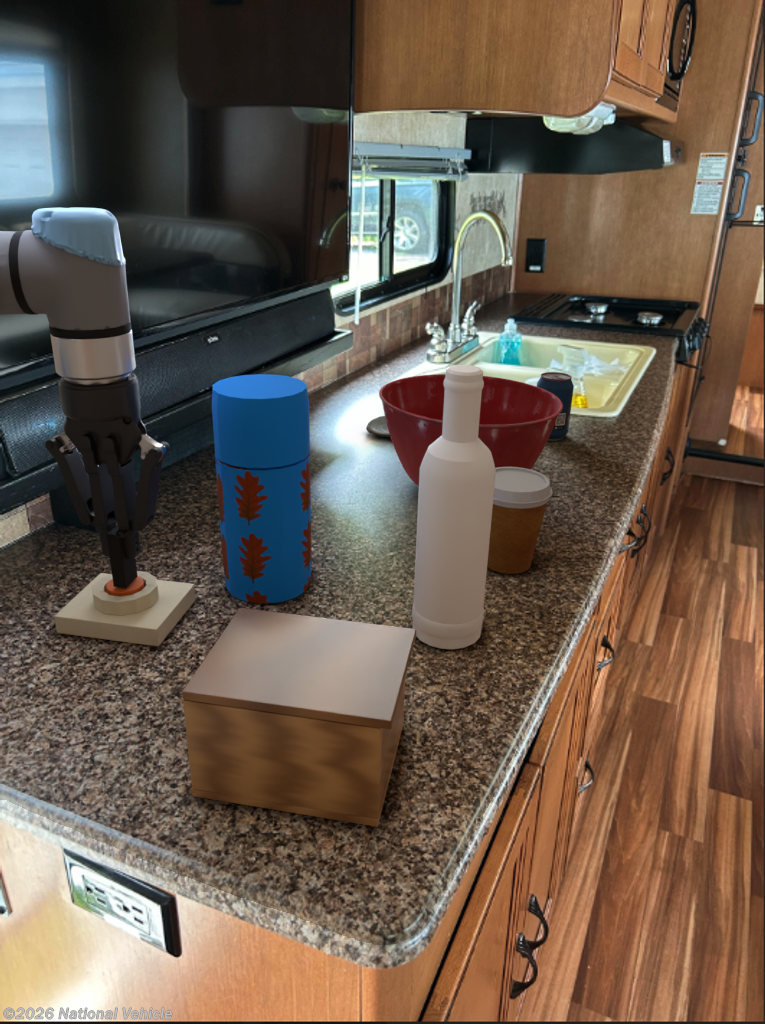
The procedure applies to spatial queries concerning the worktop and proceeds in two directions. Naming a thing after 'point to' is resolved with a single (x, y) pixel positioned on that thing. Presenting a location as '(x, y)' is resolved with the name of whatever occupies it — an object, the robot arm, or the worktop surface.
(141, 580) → the button
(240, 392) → the thermos
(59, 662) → the worktop surface
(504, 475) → the disposable coffee cup
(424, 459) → the bottle
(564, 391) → the soda can
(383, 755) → the wooden box
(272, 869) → the worktop surface
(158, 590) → the control block
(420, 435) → the mixing bowl
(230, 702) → the wooden box lid
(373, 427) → the lid
